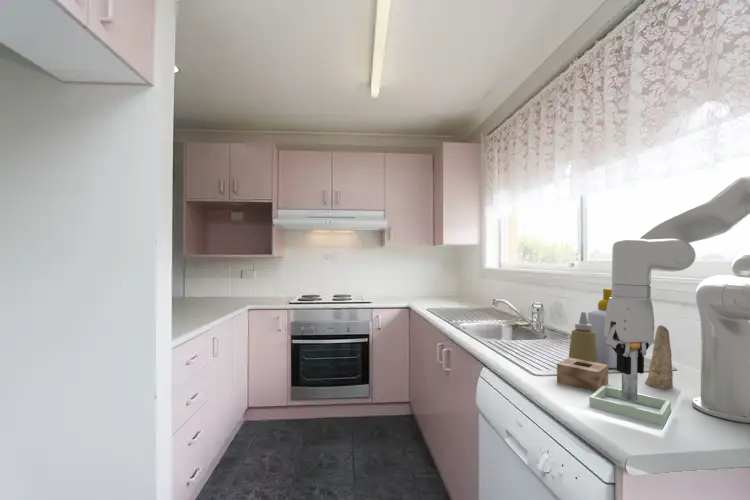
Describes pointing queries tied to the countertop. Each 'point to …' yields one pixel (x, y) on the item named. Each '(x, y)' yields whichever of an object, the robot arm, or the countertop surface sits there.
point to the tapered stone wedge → (661, 361)
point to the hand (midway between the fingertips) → (630, 371)
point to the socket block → (582, 374)
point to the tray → (631, 411)
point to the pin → (631, 375)
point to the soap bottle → (602, 332)
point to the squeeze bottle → (583, 341)
